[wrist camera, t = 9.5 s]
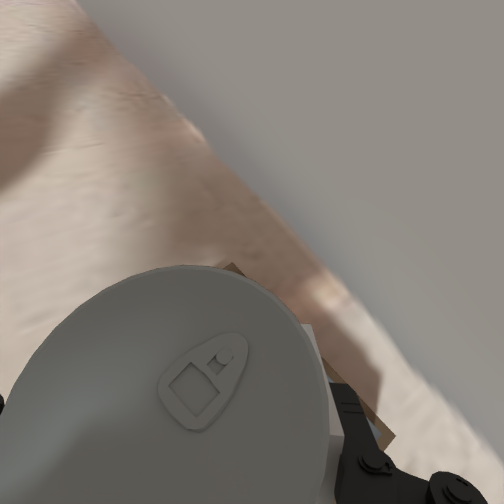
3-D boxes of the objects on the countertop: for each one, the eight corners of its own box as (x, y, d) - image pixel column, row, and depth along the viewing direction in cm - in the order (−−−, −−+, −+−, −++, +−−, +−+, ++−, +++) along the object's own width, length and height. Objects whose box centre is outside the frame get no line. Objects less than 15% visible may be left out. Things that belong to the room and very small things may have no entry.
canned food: (306, 387, 18) (375, 333, 8) (239, 558, 14) (223, 813, 5) (192, 326, 19) (139, 222, 10) (105, 464, 16) (-108, 509, 6)
